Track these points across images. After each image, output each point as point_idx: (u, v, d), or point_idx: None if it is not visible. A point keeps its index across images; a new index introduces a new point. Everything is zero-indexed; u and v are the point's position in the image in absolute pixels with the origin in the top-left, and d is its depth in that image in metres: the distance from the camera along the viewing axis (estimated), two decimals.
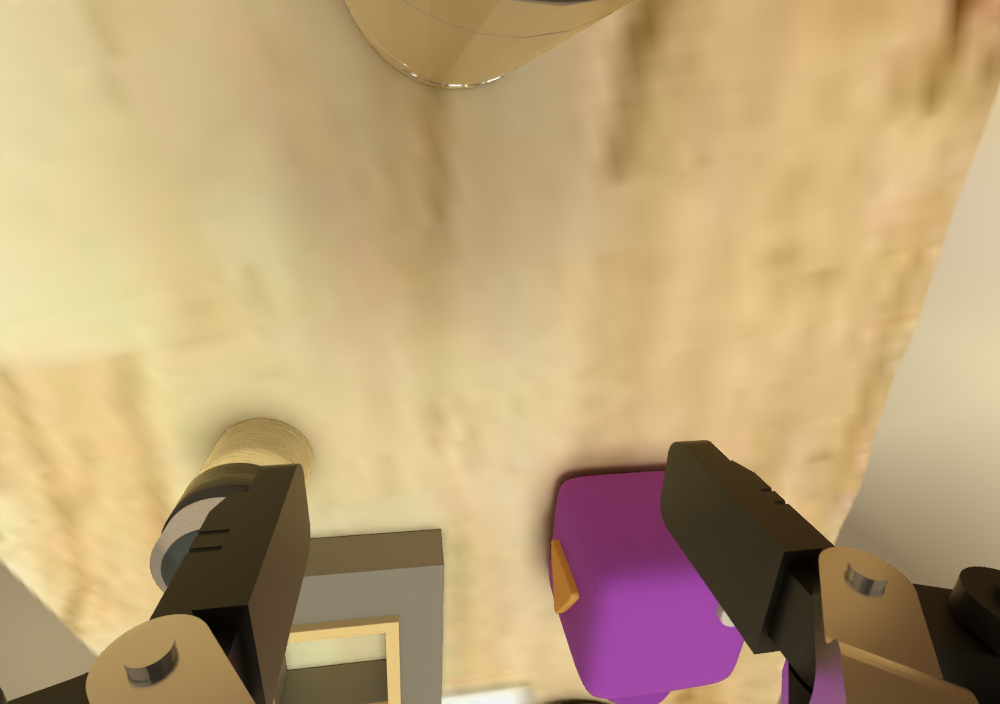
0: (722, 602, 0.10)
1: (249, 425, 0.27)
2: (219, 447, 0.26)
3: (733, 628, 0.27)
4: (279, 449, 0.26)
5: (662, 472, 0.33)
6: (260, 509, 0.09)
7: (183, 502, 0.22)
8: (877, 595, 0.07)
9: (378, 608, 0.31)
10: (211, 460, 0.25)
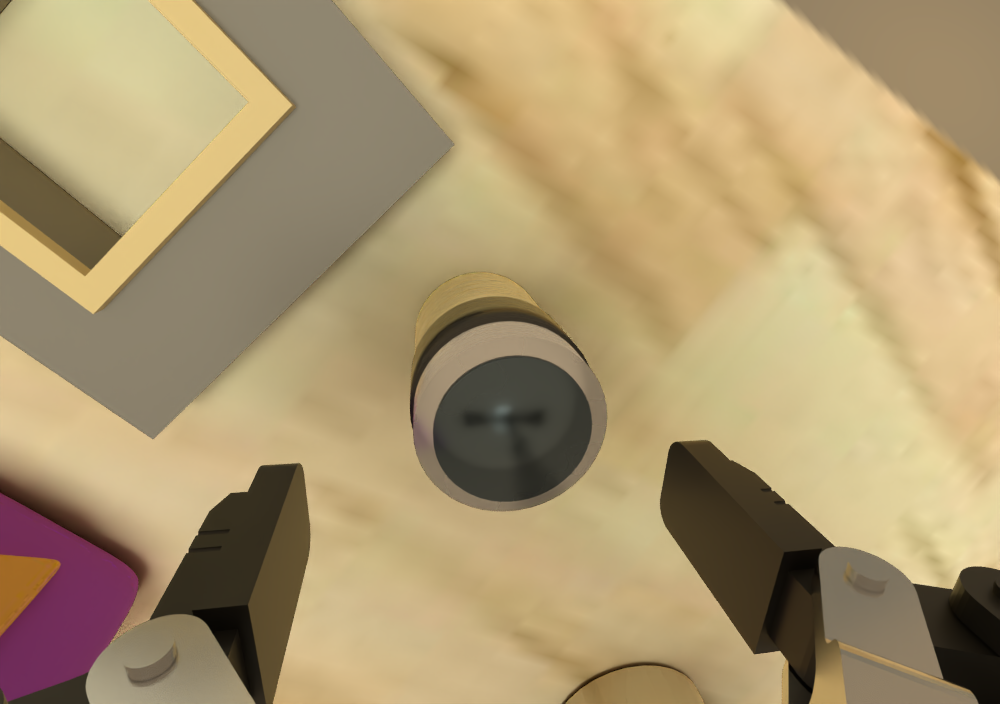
0: (722, 602, 0.10)
1: None
2: None
3: None
4: None
5: None
6: (260, 509, 0.09)
7: None
8: (877, 595, 0.07)
9: (148, 299, 0.16)
10: None
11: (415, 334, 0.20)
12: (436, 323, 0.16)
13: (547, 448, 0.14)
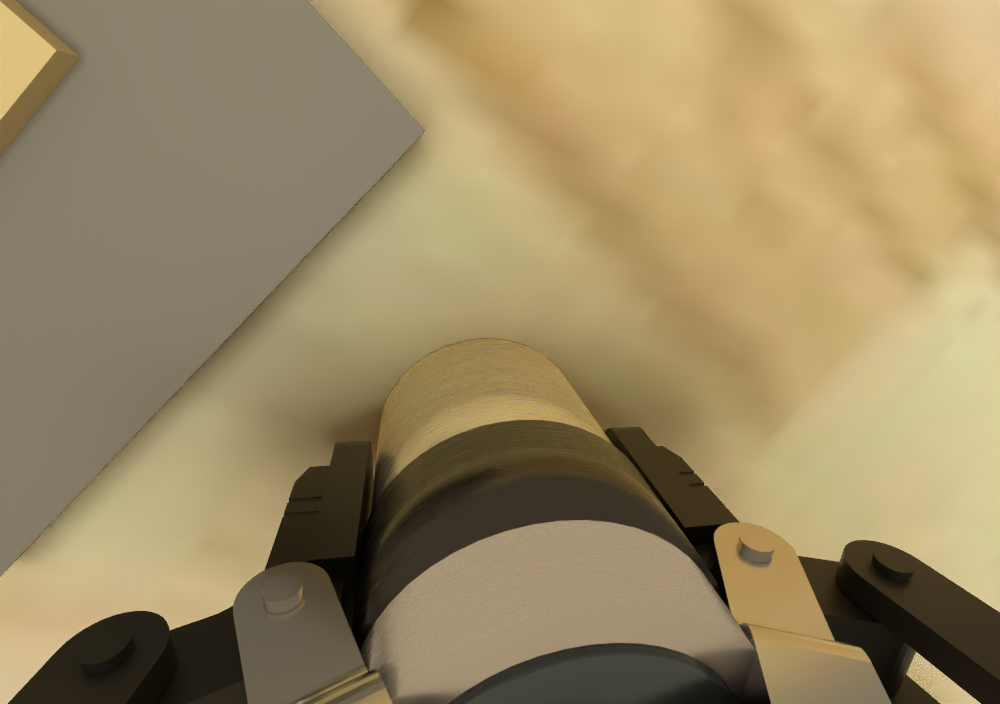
0: None
1: None
2: None
3: None
4: None
5: None
6: (345, 479, 0.09)
7: None
8: (760, 565, 0.08)
9: None
10: None
11: (377, 448, 0.12)
12: (402, 481, 0.08)
13: None
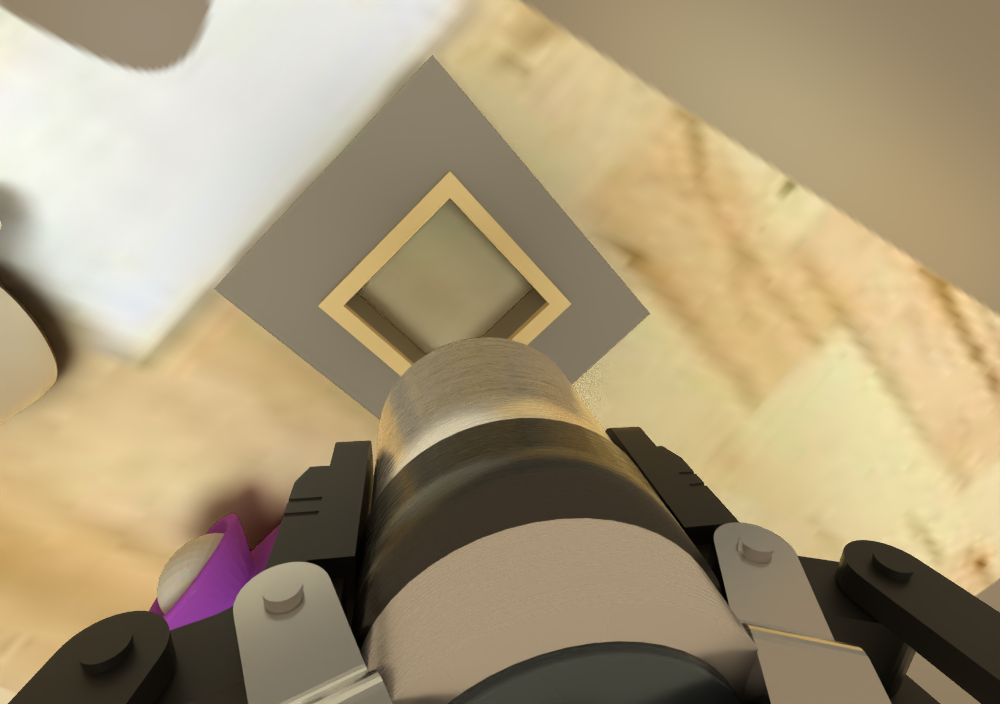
0: None
1: None
2: None
3: None
4: None
5: None
6: (345, 479, 0.09)
7: None
8: (760, 565, 0.08)
9: None
10: None
11: (377, 447, 0.12)
12: (402, 480, 0.08)
13: None
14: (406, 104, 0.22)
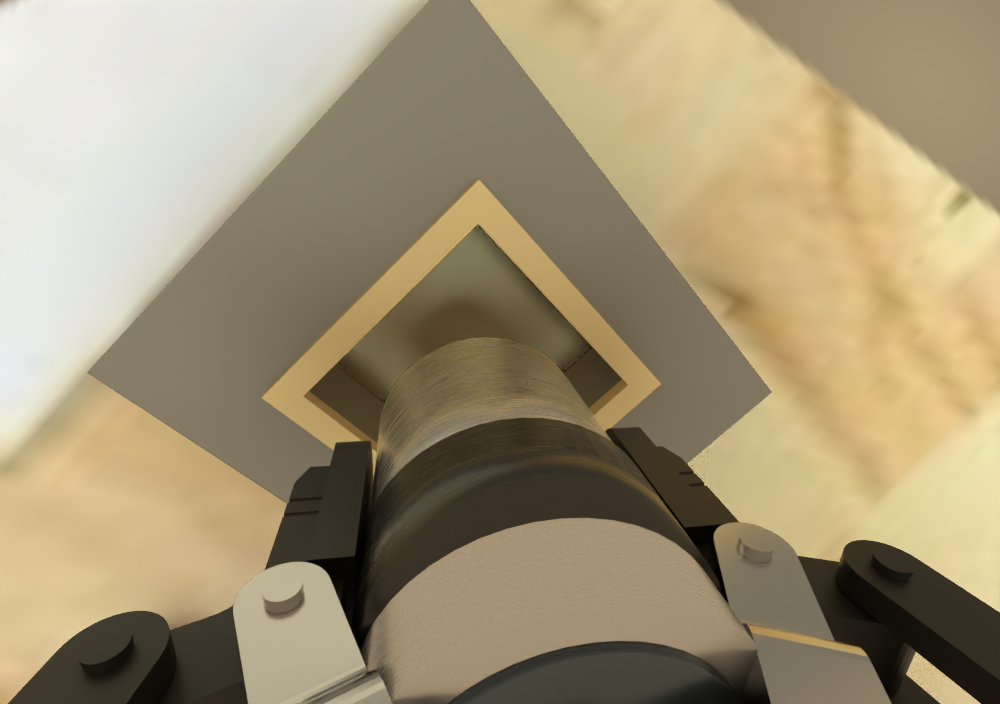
0: None
1: None
2: None
3: None
4: None
5: None
6: (345, 478, 0.09)
7: None
8: (760, 565, 0.08)
9: None
10: None
11: (377, 447, 0.12)
12: (402, 480, 0.08)
13: None
14: (406, 64, 0.13)
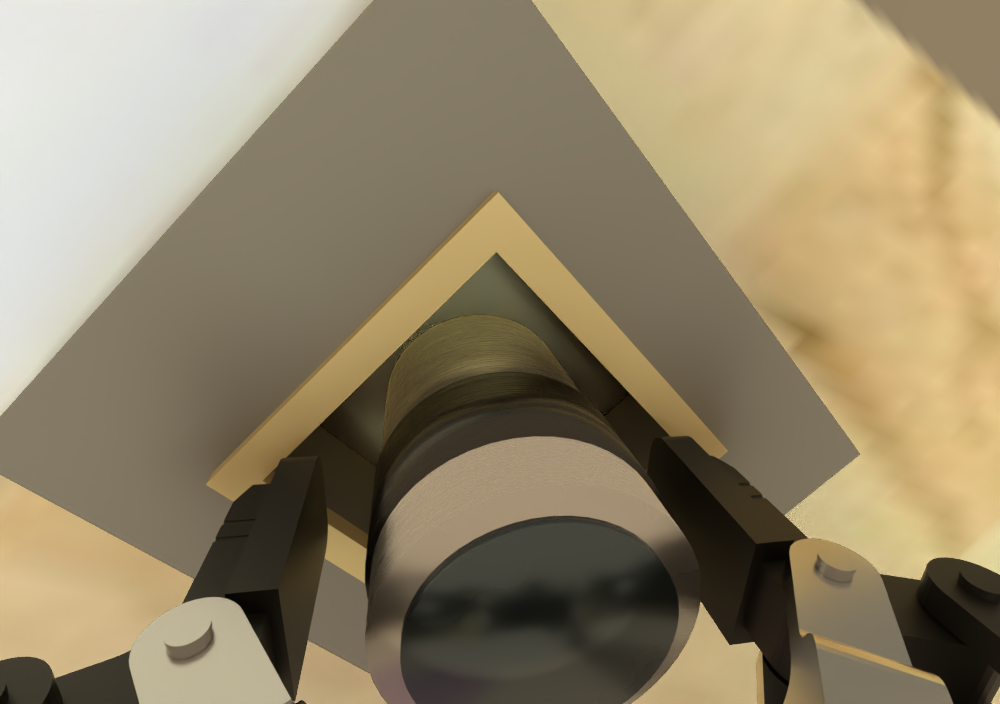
0: None
1: None
2: None
3: None
4: None
5: None
6: (284, 499, 0.09)
7: None
8: (844, 585, 0.07)
9: None
10: None
11: (385, 408, 0.14)
12: (409, 420, 0.10)
13: (602, 658, 0.08)
14: (396, 30, 0.09)
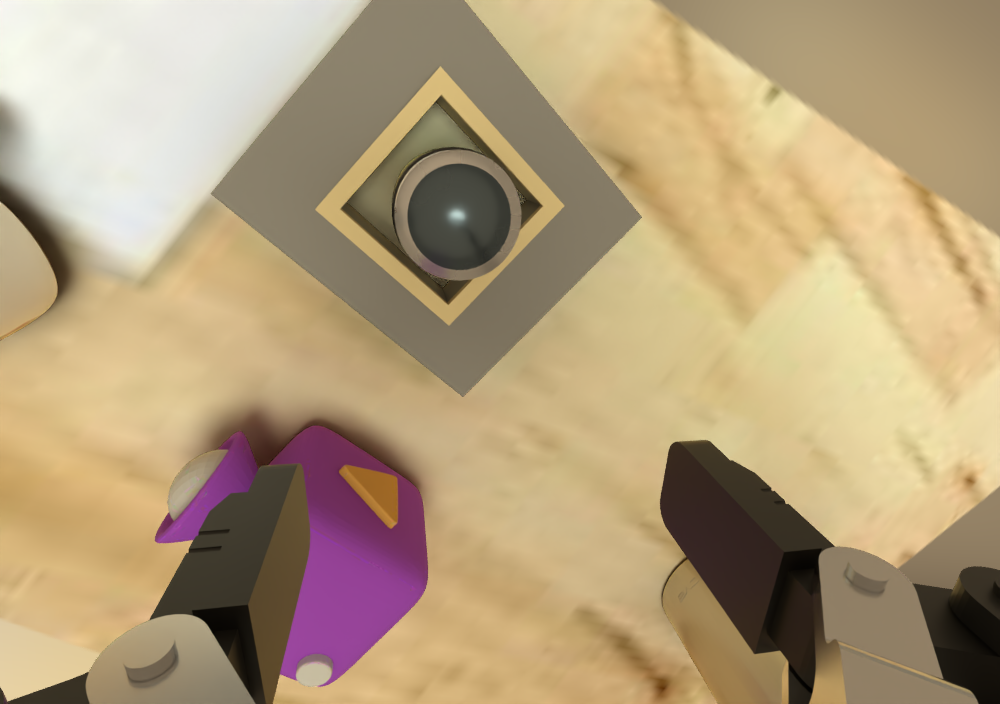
0: (722, 602, 0.10)
1: None
2: None
3: None
4: None
5: None
6: (260, 509, 0.09)
7: None
8: (877, 595, 0.07)
9: (472, 315, 0.28)
10: None
11: None
12: (406, 166, 0.23)
13: (483, 229, 0.21)
14: None
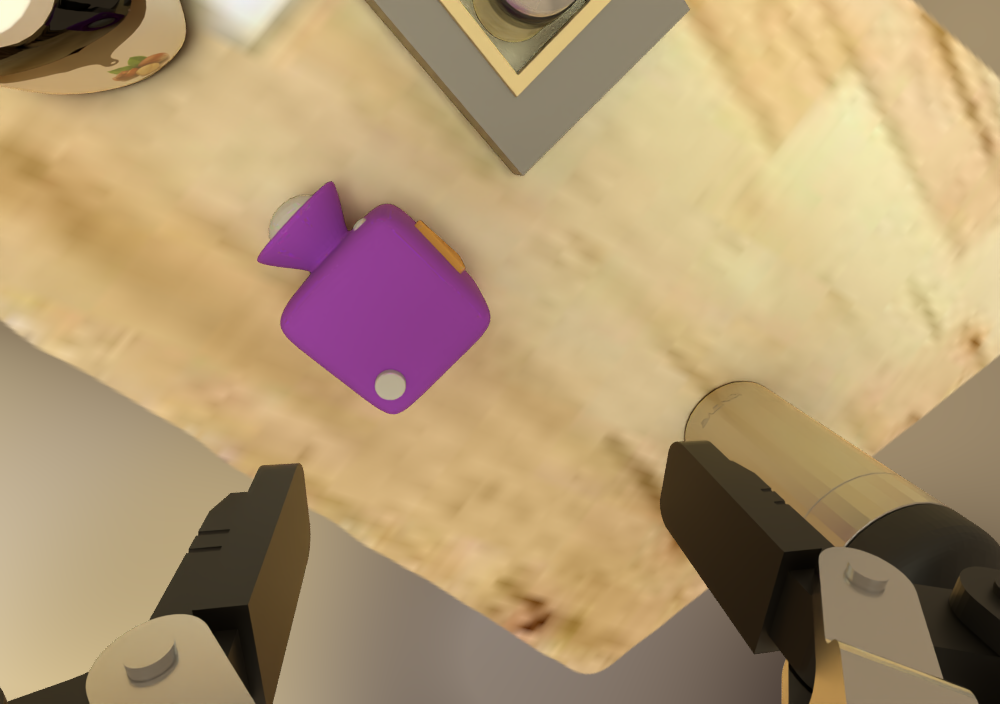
0: (722, 602, 0.10)
1: None
2: None
3: (362, 372, 0.29)
4: (525, 33, 0.31)
5: None
6: (260, 509, 0.09)
7: None
8: (877, 595, 0.07)
9: (537, 92, 0.32)
10: None
11: None
12: None
13: None
14: None
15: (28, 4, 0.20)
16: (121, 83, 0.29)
